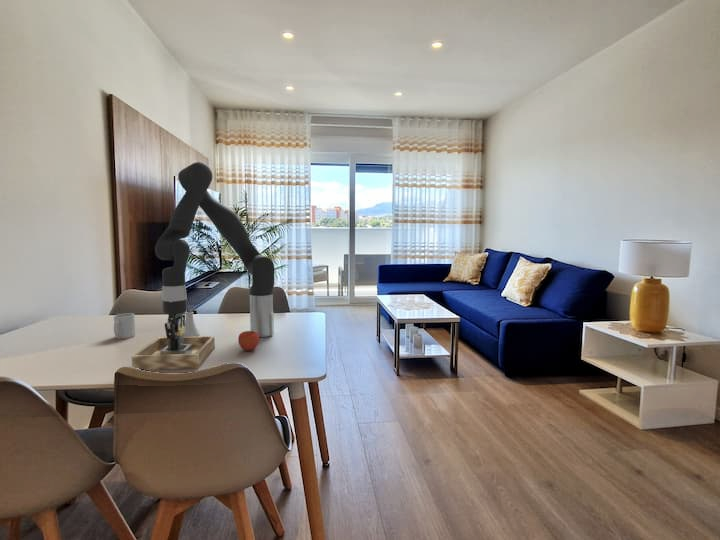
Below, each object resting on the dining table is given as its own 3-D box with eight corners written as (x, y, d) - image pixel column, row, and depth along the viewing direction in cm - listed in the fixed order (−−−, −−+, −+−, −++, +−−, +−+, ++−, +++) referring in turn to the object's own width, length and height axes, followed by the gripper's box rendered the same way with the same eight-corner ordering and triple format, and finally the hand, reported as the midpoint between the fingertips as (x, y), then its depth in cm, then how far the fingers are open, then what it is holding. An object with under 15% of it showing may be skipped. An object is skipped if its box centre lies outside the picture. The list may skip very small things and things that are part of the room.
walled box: (214, 348, 153) (214, 336, 153) (198, 368, 131) (197, 354, 131) (158, 349, 151) (158, 337, 151) (132, 370, 129) (131, 356, 129)
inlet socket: (192, 352, 146) (192, 343, 145) (185, 359, 138) (185, 350, 137) (169, 352, 145) (168, 344, 144) (160, 360, 137) (160, 351, 136)
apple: (242, 347, 155) (241, 326, 154) (261, 347, 155) (261, 326, 154) (235, 353, 148) (235, 331, 147) (256, 353, 147) (255, 331, 146)
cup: (139, 334, 171) (138, 313, 170) (124, 341, 161) (123, 318, 160) (122, 334, 171) (121, 313, 170) (106, 340, 161) (105, 318, 160)
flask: (192, 339, 165) (191, 314, 164) (176, 338, 166) (175, 313, 165) (203, 334, 172) (202, 311, 171) (187, 333, 173) (186, 310, 172)
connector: (171, 349, 143) (170, 326, 142) (185, 349, 144) (184, 326, 143) (166, 353, 139) (166, 330, 138) (181, 353, 139) (180, 329, 138)
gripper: (170, 294, 146) (172, 342, 148) (154, 302, 132) (157, 354, 133) (192, 294, 146) (194, 341, 148) (179, 302, 132) (181, 353, 134)
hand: (176, 347), depth 141 cm, fingers closed on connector, 4 cm apart
